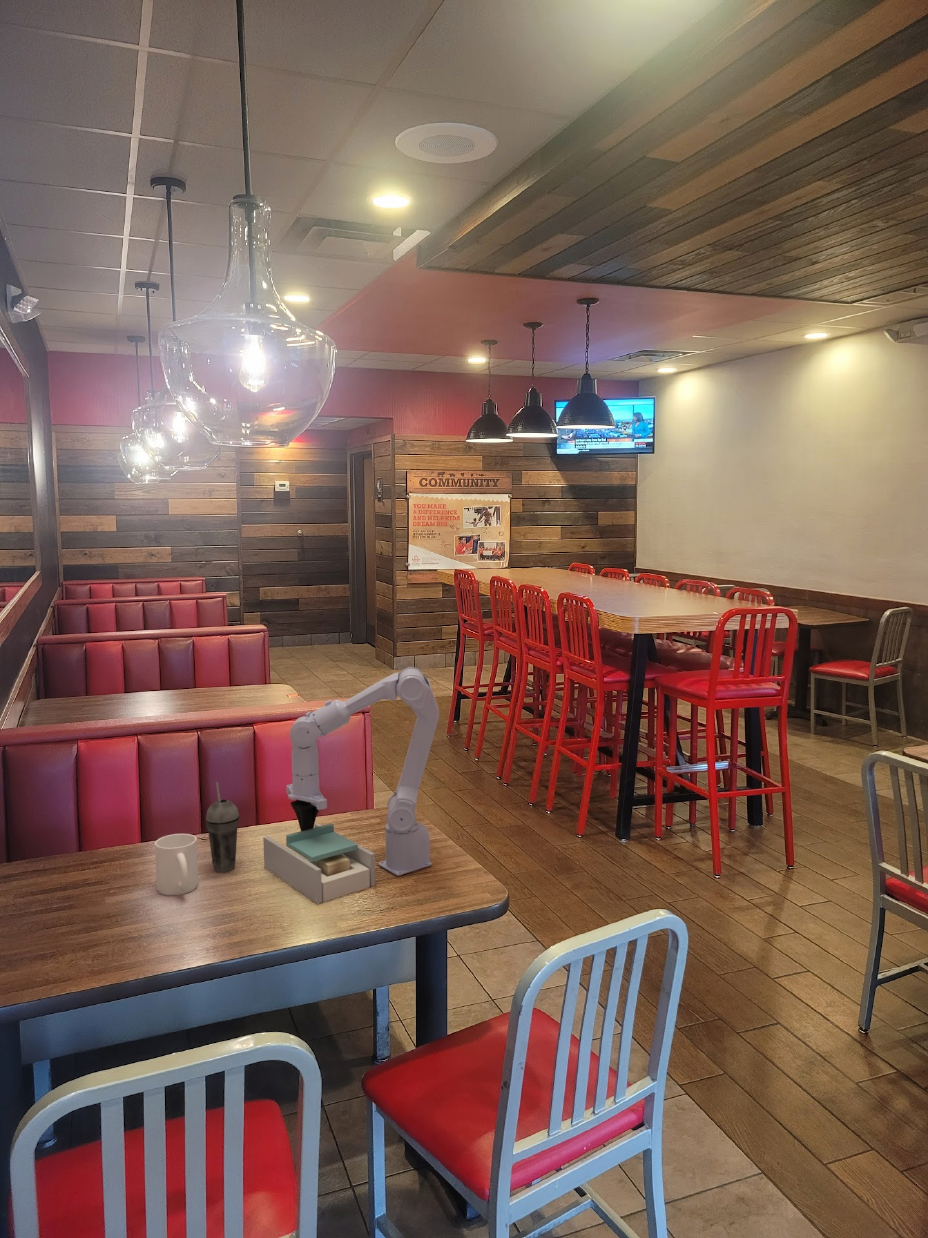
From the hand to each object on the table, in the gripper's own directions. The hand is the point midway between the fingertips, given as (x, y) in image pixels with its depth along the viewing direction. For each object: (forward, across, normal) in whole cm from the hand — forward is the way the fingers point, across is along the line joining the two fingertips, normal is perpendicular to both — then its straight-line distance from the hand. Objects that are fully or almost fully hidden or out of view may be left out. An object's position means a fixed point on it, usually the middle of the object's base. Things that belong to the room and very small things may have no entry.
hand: (307, 833), depth 189 cm
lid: (+1, +7, 0) cm, 7 cm away
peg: (+8, +11, 0) cm, 14 cm away
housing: (+8, +5, 0) cm, 10 cm away
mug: (+9, -7, -26) cm, 28 cm away
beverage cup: (+9, -12, -14) cm, 20 cm away
